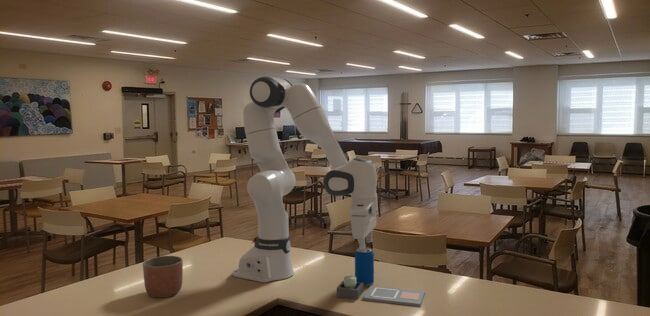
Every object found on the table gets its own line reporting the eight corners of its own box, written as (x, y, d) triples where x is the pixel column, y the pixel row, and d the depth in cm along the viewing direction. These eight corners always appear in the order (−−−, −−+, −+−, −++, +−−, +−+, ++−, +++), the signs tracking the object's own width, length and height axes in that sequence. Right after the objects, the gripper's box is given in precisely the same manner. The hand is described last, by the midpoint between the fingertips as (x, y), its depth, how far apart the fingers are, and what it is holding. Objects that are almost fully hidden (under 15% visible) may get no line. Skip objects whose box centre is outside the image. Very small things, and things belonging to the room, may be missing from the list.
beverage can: (372, 287, 160) (372, 252, 159) (353, 286, 161) (353, 251, 160) (374, 281, 166) (374, 247, 165) (356, 279, 167) (356, 246, 166)
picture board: (362, 299, 149) (362, 297, 149) (370, 287, 159) (370, 285, 159) (420, 306, 143) (420, 303, 143) (425, 293, 154) (425, 290, 154)
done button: (342, 289, 152) (342, 279, 152) (346, 285, 156) (345, 275, 156) (354, 291, 151) (354, 280, 151) (357, 286, 155) (357, 276, 155)
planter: (191, 288, 161) (190, 257, 160) (167, 302, 149) (166, 268, 148) (160, 285, 165) (159, 254, 164) (135, 298, 153) (134, 264, 152)
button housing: (336, 296, 152) (336, 287, 151) (342, 289, 158) (342, 280, 158) (357, 299, 149) (357, 290, 149) (363, 291, 156) (363, 282, 156)
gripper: (363, 200, 172) (364, 237, 173) (347, 211, 153) (348, 253, 154) (380, 200, 170) (381, 238, 171) (366, 211, 151) (367, 254, 152)
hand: (365, 245), depth 162 cm, fingers open, 8 cm apart
